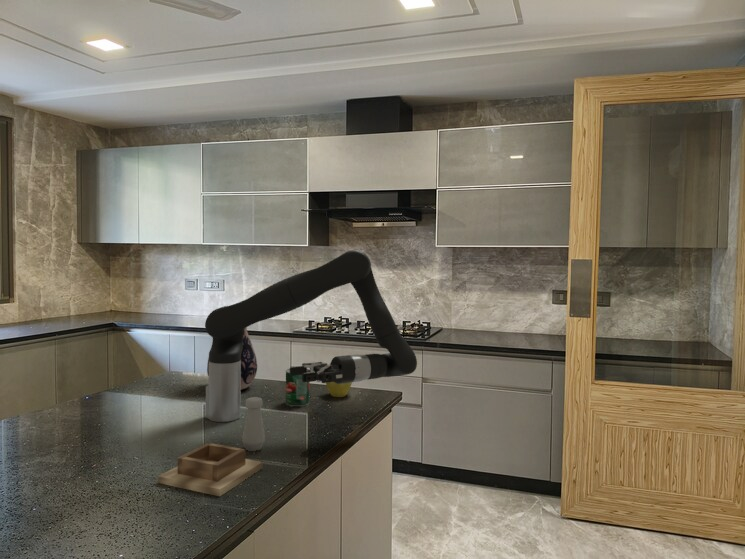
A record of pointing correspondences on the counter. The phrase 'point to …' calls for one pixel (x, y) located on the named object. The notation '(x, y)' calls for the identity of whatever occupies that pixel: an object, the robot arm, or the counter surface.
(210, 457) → the socket holder
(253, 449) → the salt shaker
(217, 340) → the robot arm
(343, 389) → the flower pot
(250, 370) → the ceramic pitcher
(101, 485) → the counter surface
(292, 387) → the canned tomato
